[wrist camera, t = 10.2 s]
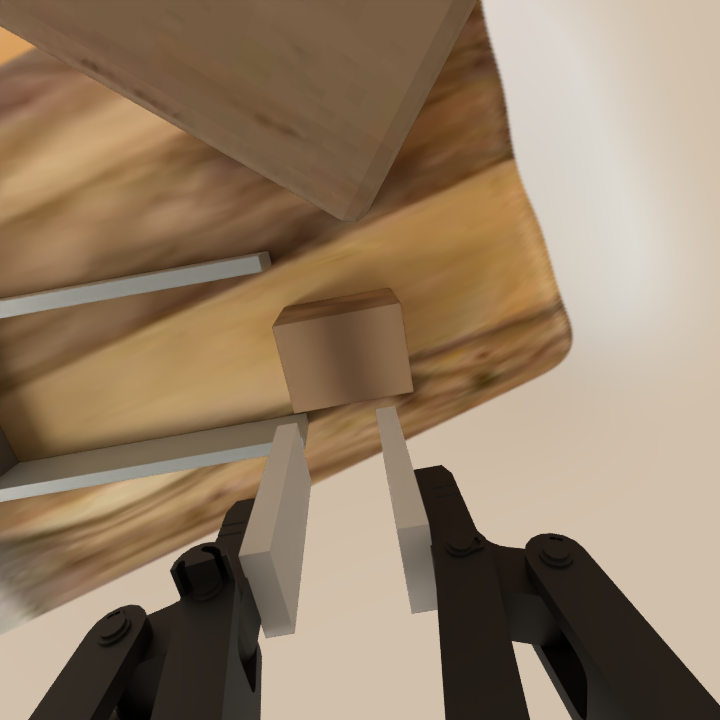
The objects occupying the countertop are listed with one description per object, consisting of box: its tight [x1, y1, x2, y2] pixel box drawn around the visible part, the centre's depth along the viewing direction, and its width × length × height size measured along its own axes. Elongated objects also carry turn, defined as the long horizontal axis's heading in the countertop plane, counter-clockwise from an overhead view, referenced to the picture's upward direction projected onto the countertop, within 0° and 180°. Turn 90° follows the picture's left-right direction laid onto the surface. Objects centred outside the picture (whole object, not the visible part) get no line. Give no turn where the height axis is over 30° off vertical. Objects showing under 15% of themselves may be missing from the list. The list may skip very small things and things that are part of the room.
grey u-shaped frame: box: [0, 251, 309, 502], centre depth 30 cm, size 26×14×4 cm, turn 100°
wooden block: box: [0, 0, 477, 222], centre depth 18 cm, size 10×10×20 cm
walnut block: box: [272, 288, 413, 413], centre depth 30 cm, size 8×6×6 cm
